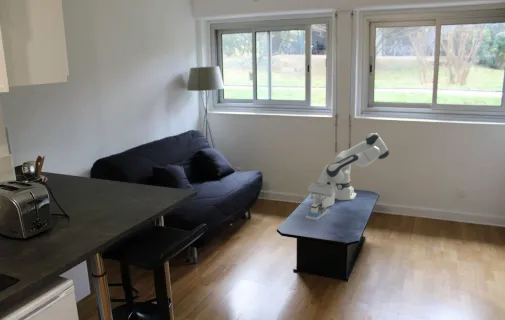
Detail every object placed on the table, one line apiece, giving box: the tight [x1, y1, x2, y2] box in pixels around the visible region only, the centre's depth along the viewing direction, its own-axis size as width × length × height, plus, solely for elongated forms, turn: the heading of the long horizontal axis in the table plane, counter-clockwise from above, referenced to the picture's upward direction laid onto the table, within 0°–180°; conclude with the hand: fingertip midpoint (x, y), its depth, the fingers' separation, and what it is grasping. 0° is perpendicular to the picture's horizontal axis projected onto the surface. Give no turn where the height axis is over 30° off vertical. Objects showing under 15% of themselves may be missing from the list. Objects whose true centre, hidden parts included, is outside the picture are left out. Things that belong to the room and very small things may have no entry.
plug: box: [310, 203, 319, 214], centre depth 338 cm, size 4×4×8 cm
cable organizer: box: [312, 192, 336, 209], centre depth 361 cm, size 15×11×12 cm
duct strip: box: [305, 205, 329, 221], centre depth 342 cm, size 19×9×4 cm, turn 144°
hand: (317, 199), depth 342 cm, fingers open, 8 cm apart
